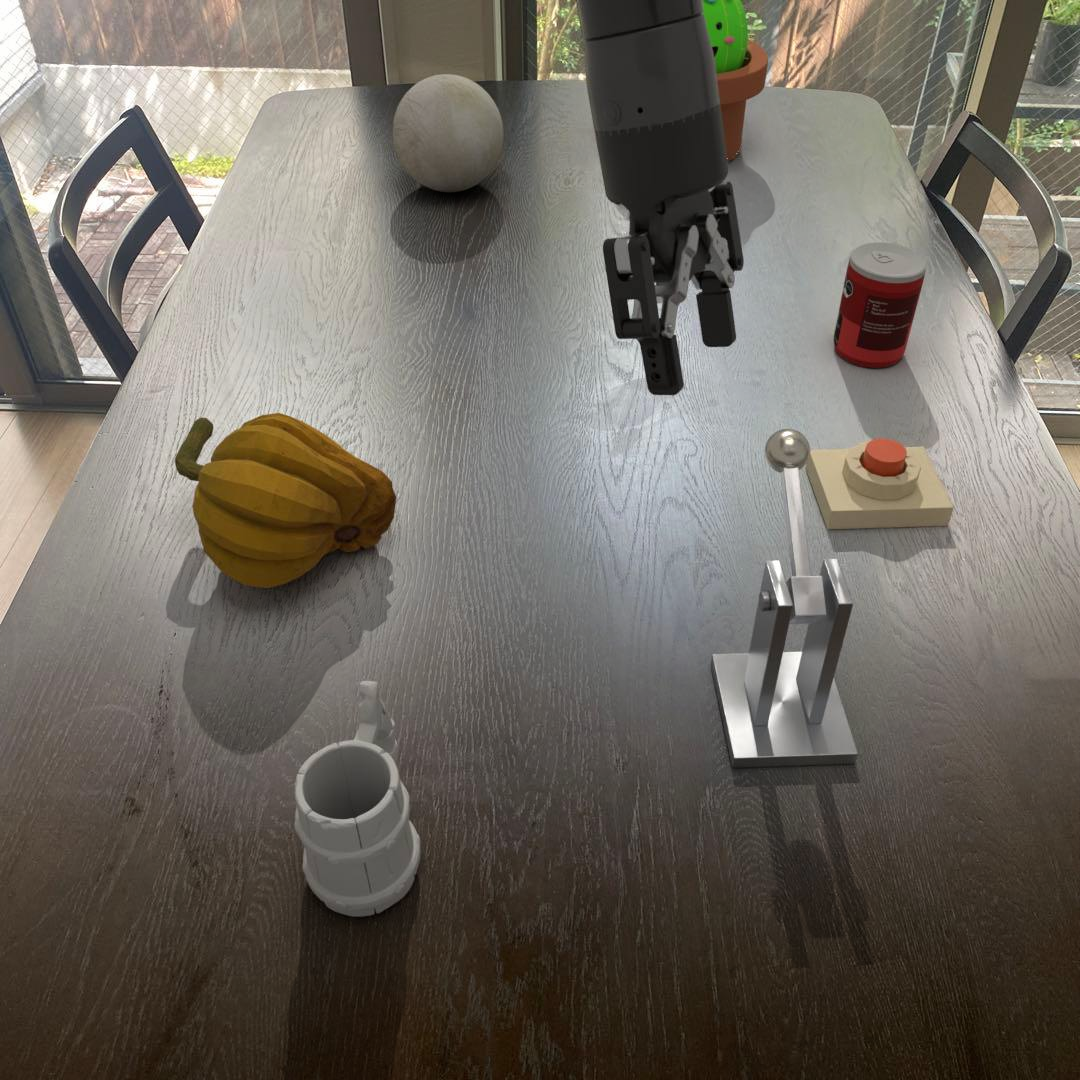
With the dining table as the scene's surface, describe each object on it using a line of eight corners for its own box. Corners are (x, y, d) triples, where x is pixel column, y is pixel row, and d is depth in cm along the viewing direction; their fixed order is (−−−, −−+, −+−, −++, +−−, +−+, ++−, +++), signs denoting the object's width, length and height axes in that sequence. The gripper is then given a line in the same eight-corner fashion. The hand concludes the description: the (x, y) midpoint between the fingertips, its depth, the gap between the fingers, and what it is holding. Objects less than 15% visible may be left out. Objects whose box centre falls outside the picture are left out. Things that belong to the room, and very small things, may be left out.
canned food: (859, 324, 124) (879, 234, 116) (918, 352, 119) (943, 261, 112) (816, 347, 120) (834, 256, 113) (876, 378, 115) (898, 285, 108)
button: (896, 452, 100) (900, 437, 99) (907, 477, 97) (912, 461, 96) (857, 453, 100) (861, 438, 98) (868, 478, 97) (871, 462, 96)
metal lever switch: (710, 664, 85) (729, 534, 76) (823, 660, 86) (856, 530, 76) (731, 768, 78) (756, 638, 69) (855, 764, 78) (896, 633, 69)
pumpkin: (342, 651, 89) (108, 572, 88) (391, 541, 103) (187, 471, 101) (379, 524, 81) (122, 435, 80) (426, 422, 95) (206, 344, 93)
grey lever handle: (758, 440, 79) (767, 422, 76) (801, 439, 79) (812, 421, 76) (778, 626, 75) (788, 615, 72) (824, 624, 75) (836, 613, 72)
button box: (918, 464, 104) (928, 431, 102) (948, 525, 98) (959, 491, 95) (805, 467, 104) (812, 434, 101) (827, 529, 97) (835, 495, 95)
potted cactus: (593, 125, 168) (598, -53, 151) (728, 115, 171) (748, -62, 154) (627, 184, 152) (636, -8, 135) (776, 171, 155) (803, -19, 138)
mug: (291, 914, 70) (258, 806, 62) (343, 765, 79) (319, 654, 71) (406, 930, 69) (387, 823, 61) (446, 777, 78) (433, 666, 70)
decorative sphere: (467, 219, 144) (461, 106, 134) (376, 196, 150) (364, 85, 140) (524, 178, 154) (523, 69, 144) (437, 157, 159) (429, 51, 149)
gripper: (660, 127, 57) (703, 412, 64) (760, 78, 67) (787, 329, 74) (541, 144, 61) (594, 410, 68) (652, 95, 71) (688, 331, 78)
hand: (694, 368), depth 71 cm, fingers open, 8 cm apart
